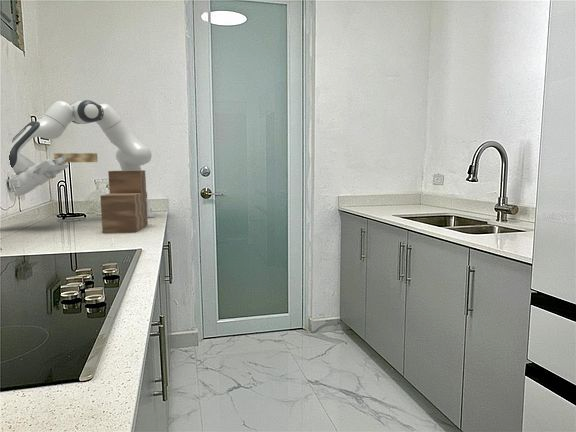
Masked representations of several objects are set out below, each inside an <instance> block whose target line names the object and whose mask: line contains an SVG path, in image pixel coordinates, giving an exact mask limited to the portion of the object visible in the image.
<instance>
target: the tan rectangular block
mask: <svg viewBox="0 0 576 432" xmlns="http://www.w3.org/2000/svg"><path fill="white" fill-rule="evenodd" d="M62 156H67V158H68V159H67V160H65V161H63V162H68V163H98V153H97V152H95V153H93V152H87V153H80V152H79V153H77V152H75V153H74V152H72V153H70V152H69V153H62V152H61V153H60V152H58V153H53V159H58V158H60V157H62Z"/></svg>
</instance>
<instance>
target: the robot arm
mask: <svg viewBox="0 0 576 432" xmlns="http://www.w3.org/2000/svg"><path fill="white" fill-rule="evenodd" d="M71 123H74V124H77V125H87V124H88V125H89V124H91V123H96V124H97V125H98V126H99V127H100V130H101V131H102V132H103V134H105V136H106V137H107V139H108V140H109V141H110V143H111V144H112V145H113V146H115V147H116V148H118V149H117V150H116V152H115V158H116V160H117V162H118V163H119V166H120V169H121V171H135V170H142V168H141V166H144V165H147V164H148V163H149V162H150V161H151V159H152V156H153V155H152V151H151V149H150V148H149V147H147V146H146V145H144V144H143V143H142V142H141V141H140V140H139V139H138V138H137V137H136V136H135V135H134V134H133V133H132V132H131V131H130V129H129V128H128V127H127V125H126V124H125V122H124V121H123V120H122V118H121V117H120V115H119V114H118V113H117V112H116V110H115V109H114V108H113V107H112V106H111V105H109V103H108V104H107V103H101V104H99V103H97V102H95V101H92V100H89V99H86V100H79V101H76V102H72V103H71V104H69V103H68V102H66V101H64V100H57V101H55V102H54V103H53V104H52V105H50V106H49V108H48V109H47V110H46V111H45V112H44V113H43V115H42V116H41V117H40V118H39V119H38V120H33V121H30V122H29V123H28V124H26V125H25V126H24V127H23V128H22V129H21V130H20V131H19V132H18V133H17V134H16V135H14V137H12V139H13V140H12V139H11V140H12V145H11V151H10V155H9V160H10V165H11V167H12V168H13V170H14V172H15V173H16V175H17V176H16V177H17V179H19V182H20V188H18V189H17V190H16V191H15V196H17V197H21V196H23V195H27V194H28V193H30V192H31V191H33V190H35V189H36V188H37V187H39V186H42V185H45V184H46V183H47V182H48V181H50V180H52V179H54V178H56V177H57V175H58V174H60V173H62V172H63V171H64V170H66V169H67V168H68V167H69V166H70V164H69V162H63V161H65V160H67V159H68V158H67V156H62V157H60V158H58V159H54V158H48V159H46V160H44V161H42V162H41V161H39V162H37V163H35V162H33V161H32V160H31V159H29V158H28V157H27V156H25V155H23V154H22V153H21V150H22V149H23V148H24V147H25V146H26V145H27V144H28V143H29V142H30V141H31V140H32V139H34V138H41V139H46V140H56V139H59V138H60V137H61V136H62V135H63V133H65V130H67V127H69V125H70V124H71ZM146 198H147V218H154V217H155V212H151V211H152V208H151V205H150V201H149V200H148V192H147V190H146Z"/></svg>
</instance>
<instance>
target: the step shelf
mask: <svg viewBox="0 0 576 432" xmlns="http://www.w3.org/2000/svg"><path fill="white" fill-rule="evenodd" d="M146 178H147V177H146V170H142V169H141V170H135V171H122V170H108V189H109V193H106V194H102V195H100V196H99V197H100V211H101V228H102V231H101V232H102V234H121V233H122V234H123V233H124V234H126V233H127V234H128V233H129V234H130V233H138V232H139V231H141V230H142V229H144V228H146V227H147V226H148V225H149V224H148V223H149V221H148V217H147V199H148V197H147V198H146V191H147V182H146V181H147V179H146Z"/></svg>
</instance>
